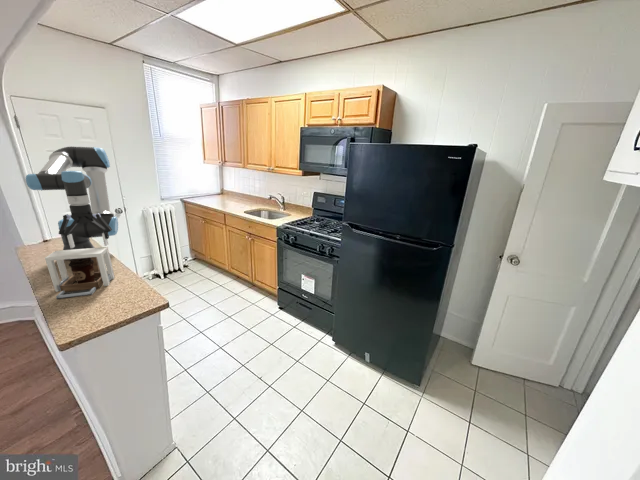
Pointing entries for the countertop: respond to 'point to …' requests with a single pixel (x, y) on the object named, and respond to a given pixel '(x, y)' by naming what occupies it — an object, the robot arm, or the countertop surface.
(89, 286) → the wooden frame
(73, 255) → the tunnel
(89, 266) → the coffee cup
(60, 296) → the grey flat piece
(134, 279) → the countertop surface
